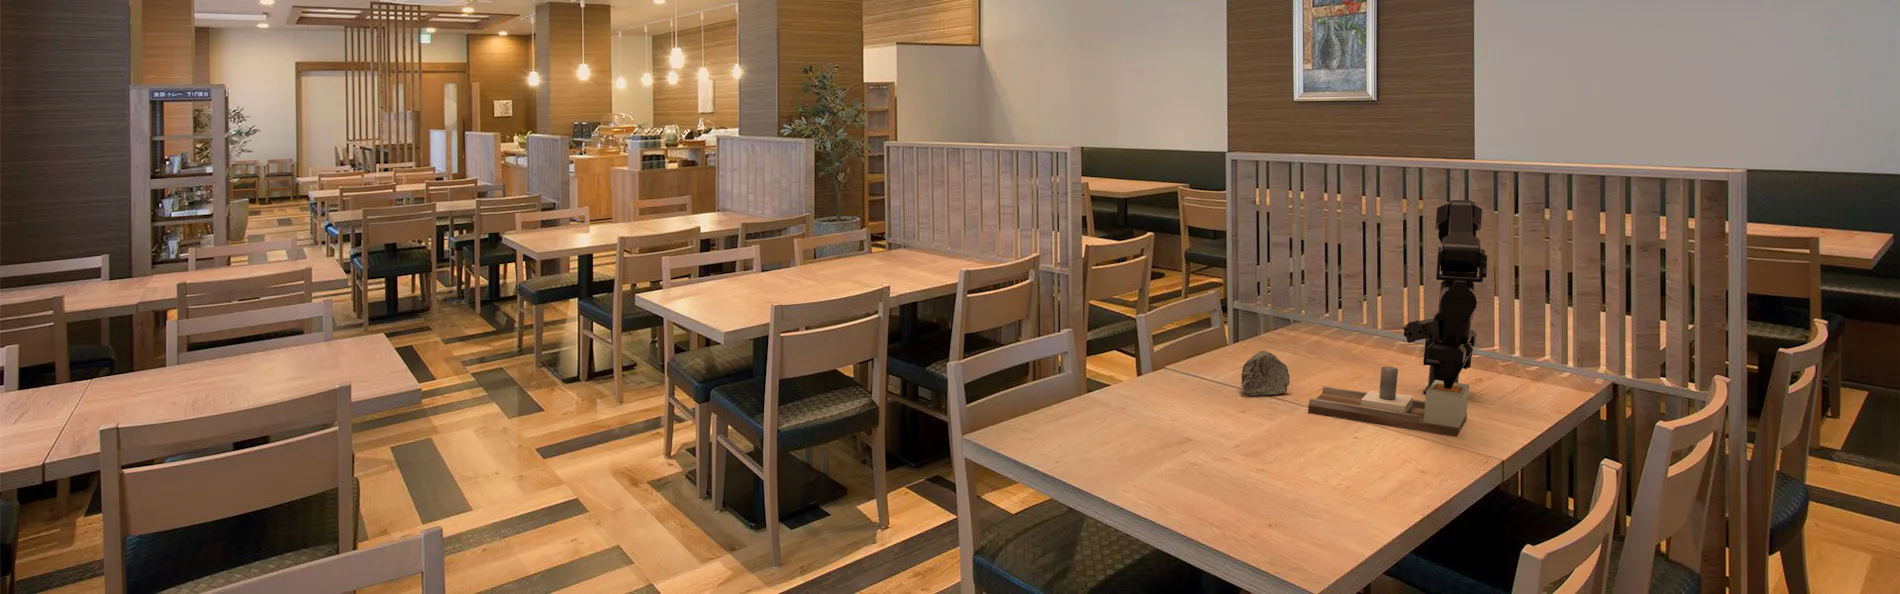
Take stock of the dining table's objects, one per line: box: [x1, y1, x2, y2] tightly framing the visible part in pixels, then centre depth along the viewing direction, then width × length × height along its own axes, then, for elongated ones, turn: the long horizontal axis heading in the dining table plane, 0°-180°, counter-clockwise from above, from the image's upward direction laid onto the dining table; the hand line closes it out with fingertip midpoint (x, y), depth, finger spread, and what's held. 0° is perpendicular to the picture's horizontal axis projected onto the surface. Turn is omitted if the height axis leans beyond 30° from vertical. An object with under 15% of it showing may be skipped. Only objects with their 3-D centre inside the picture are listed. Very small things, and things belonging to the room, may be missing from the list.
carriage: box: [1361, 366, 1414, 413], centre depth 192 cm, size 8×8×8 cm
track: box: [1307, 385, 1468, 438], centre depth 193 cm, size 12×27×3 cm, turn 55°
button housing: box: [1424, 380, 1470, 428], centre depth 186 cm, size 10×6×6 cm, turn 145°
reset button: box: [1435, 384, 1461, 393], centre depth 186 cm, size 4×4×5 cm
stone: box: [1240, 350, 1291, 397], centre depth 210 cm, size 10×10×10 cm
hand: (1447, 388), depth 186 cm, fingers closed, pressing on reset button
